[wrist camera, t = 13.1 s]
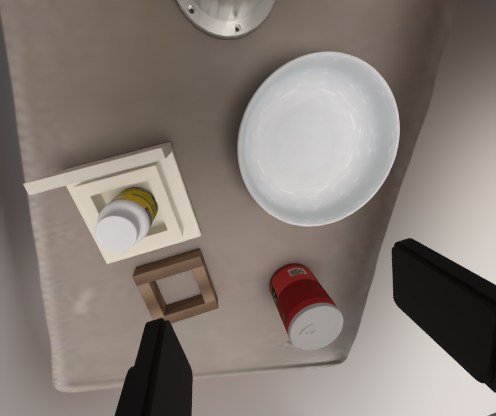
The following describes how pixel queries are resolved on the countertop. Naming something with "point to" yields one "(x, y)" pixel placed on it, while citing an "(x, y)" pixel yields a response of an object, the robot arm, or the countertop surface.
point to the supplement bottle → (126, 219)
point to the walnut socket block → (169, 267)
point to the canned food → (305, 308)
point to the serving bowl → (318, 138)
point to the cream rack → (123, 177)
